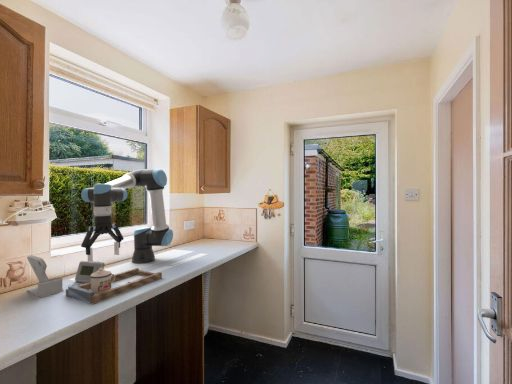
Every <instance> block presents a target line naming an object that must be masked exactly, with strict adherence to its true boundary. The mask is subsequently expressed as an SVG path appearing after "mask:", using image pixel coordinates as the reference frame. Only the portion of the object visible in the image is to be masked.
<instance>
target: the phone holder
mask: <svg viewBox="0 0 512 384" xmlns="http://www.w3.org/2000/svg"><path fill="white" fill-rule="evenodd" d="M26 259H27V260H28V263H29V264H30V267H31V269H32V270H33V272H34V274H35V276H36V279H37V280H38V283H37V286H34V287H30V288H27V290H26V291H27V292H28V291H29V292H28V293H30V292H31V294H32V293H33V294H32V295H34V294H35V295H34V296H37V298H45V297H48V296H51V295H54V294H57V293H59V294H60V293H61V292H64V288H63V277H61V276H59V277H54V278H48V275H47V273H46V271H47V267H48V266H47V263H46V261H45V260H44V259H43V258H42V257H38V256H35V255H32V254H30V255H28V256H27V257H26Z"/></svg>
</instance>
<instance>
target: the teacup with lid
mask: <svg viewBox="0 0 512 384" xmlns="http://www.w3.org/2000/svg"><path fill="white" fill-rule="evenodd" d="M111 276H113V279H112V281H111ZM90 277H91V289H90V290H91V291H94V295H96V294H98V293H101V292H104V291H107V290H110V289H112V284H113V283H114V282H115V281H114V280H115V273H112V271H110V270H106V269H103V268H99V270H98V271H96V272H94V273H92V274H91V275H90Z"/></svg>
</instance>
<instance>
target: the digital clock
mask: <svg viewBox="0 0 512 384" xmlns="http://www.w3.org/2000/svg"><path fill="white" fill-rule="evenodd" d="M105 265H106V264H105V262H100V261H94V260H93V261H92V262H90V261H88V260H81V261H79V264H78V267H77V271H76V274H75V277H74V281H75V282H76V283H82V284H85V283H89V282H91V277H90V275H91V274H92V273H94V272H96V271H98V270H99V268H103V270H105Z"/></svg>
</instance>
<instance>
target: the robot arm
mask: <svg viewBox="0 0 512 384" xmlns="http://www.w3.org/2000/svg"><path fill="white" fill-rule="evenodd" d="M167 182H168V178H167V174H166V172H165V171H164V170H163V169H161V168H148V169H147V168H146V169H145V168H142V169H140V168H139V169H136V170H133V171H130V172H127V173H125V174H124V175H122V176H121V177H119V178H116V179H113V180H110V181H108V182H106V183H95V184H94V185H93V187H87V188H86V187H85V188H84V189H82V190H81V193H80V194H81V195H80V196H81V199H82V200H83V202H85V203H88V202H89V203H93V215H94V217H93V218H94V219H93V220H94V221H93V222H94V226H87V232H86V234H85V235H84V238H83V240H82V243H81V244H80V247H82V248H85V255H86V256H87V261H90V262H92V261H93V262H94V257H93V256H94V255H93V254H94V253H93V250H94V249H93V247H92V246H93V244H94V243H95V242H96V240H97V239H98V238H99V236H101V235H104V234H108V235H109V236H110V237H111V238H112V239H113V240H114V242H113V244H114V245H113V246H114V248H113V249H114V256H119V255H120V248H121V242H122V241H124V239H125V238H124V236H123V234H122V232H121V230H120V228H119V226H118V222H117V223H116V222H113V216H112V213H113V212H112V203H117V202H118V203H121V202H124V201H125V200H127V198H128V195H129V194H128V190H127V189H132V188H134V187H144V188H145V191H147V192H148V195H149V197H148V198H149V203H150V211H151V212H150V213H151V218H152V225H153V226H147V227H141V228H136V229H135V230H134V233H133V243H134V245H133V247H134V248H133V249H134V250H133V252H132V253H133V254H132V257H131V262H132V263H135V264H144V263H145V264H146V263H151V262H154V261H155V260H156V255H155V254H154V250H153V247H168V246H170V244H171V243H172V241H173V238H174V231H173V229H170V226H169V224H167V220H166V219H167V218H166V211H165V203H164V194H163V193H164V192H163V191H164V189H165V187H166V186H167ZM112 229H113V230H112Z"/></svg>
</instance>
